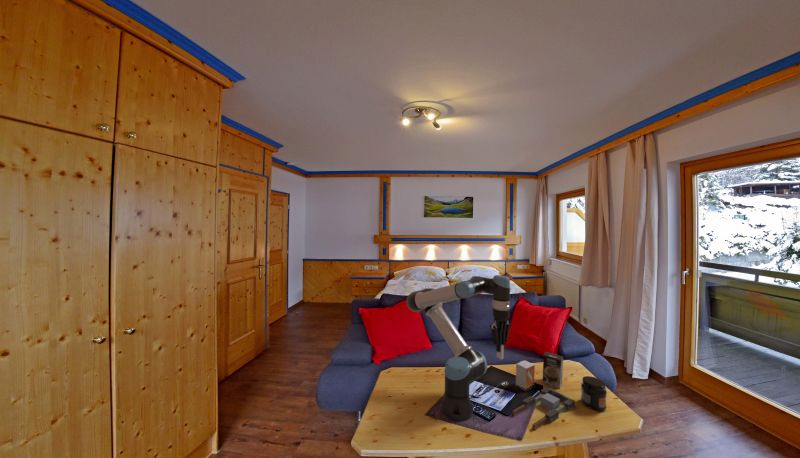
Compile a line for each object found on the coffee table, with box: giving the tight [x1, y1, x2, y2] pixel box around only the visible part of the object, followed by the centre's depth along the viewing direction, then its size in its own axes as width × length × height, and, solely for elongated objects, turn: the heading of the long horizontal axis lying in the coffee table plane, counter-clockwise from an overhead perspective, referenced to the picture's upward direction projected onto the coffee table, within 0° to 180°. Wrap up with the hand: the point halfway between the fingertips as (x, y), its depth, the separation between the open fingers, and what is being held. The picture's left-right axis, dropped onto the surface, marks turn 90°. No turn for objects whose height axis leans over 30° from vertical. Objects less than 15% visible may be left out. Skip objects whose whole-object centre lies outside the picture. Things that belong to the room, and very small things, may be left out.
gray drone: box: [511, 386, 576, 431], centre depth 134 cm, size 14×32×3 cm, turn 123°
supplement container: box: [580, 375, 608, 411], centre depth 139 cm, size 10×10×12 cm
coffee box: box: [542, 351, 564, 390], centre depth 157 cm, size 9×6×16 cm
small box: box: [515, 360, 536, 389], centre depth 153 cm, size 8×6×13 cm
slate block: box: [540, 393, 561, 411], centre depth 137 cm, size 6×6×4 cm
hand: (500, 357), depth 131 cm, fingers closed
